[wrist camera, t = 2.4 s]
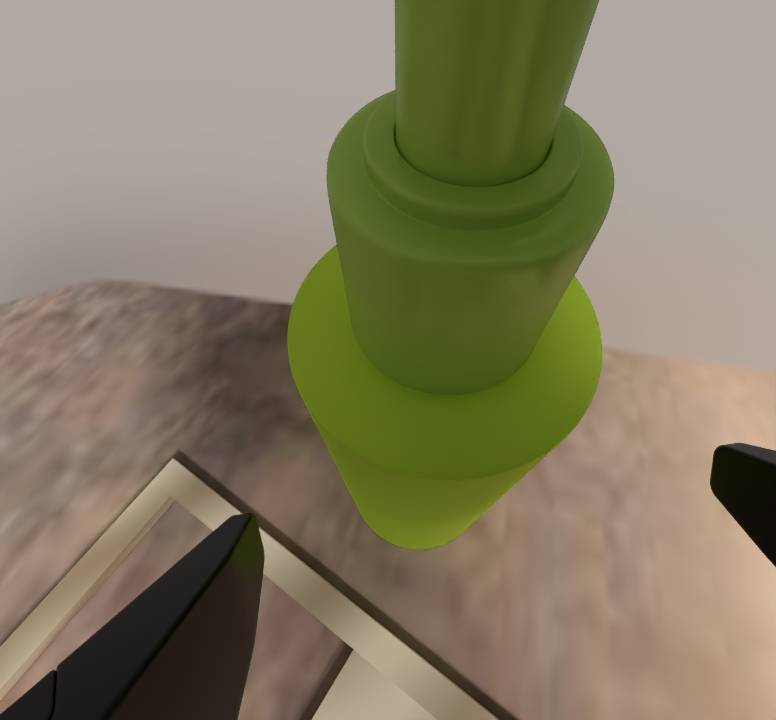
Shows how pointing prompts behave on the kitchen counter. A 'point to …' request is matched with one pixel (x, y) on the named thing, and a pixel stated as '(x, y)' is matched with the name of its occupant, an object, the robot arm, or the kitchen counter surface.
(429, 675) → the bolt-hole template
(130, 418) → the kitchen counter surface
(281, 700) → the kitchen counter surface
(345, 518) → the kitchen counter surface
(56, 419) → the kitchen counter surface
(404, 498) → the soap dispenser
